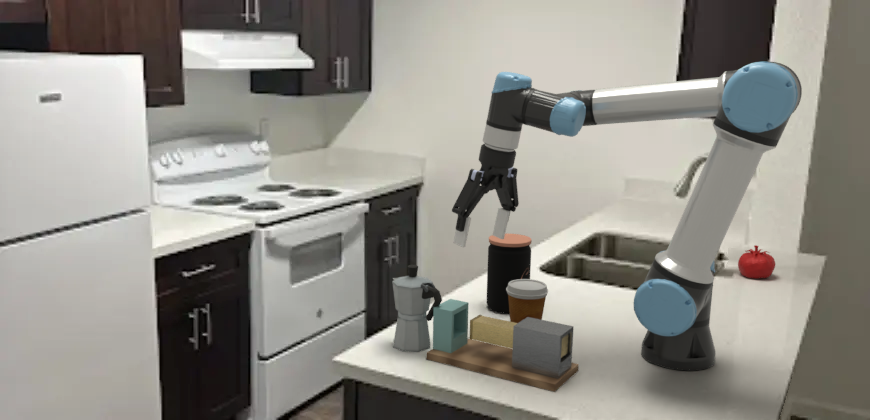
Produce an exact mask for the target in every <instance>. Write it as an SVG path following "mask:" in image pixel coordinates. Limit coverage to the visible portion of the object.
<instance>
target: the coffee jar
mask: <svg viewBox="0 0 870 420" xmlns="http://www.w3.org/2000/svg"><path fill="white" fill-rule="evenodd" d="M488 243H489V246H488V250H487V276H486V279H487V280H486V305H487V306H488V309H489V310H491V312H494V313H498V314H504V315H510V311H509V300H508V293H507V291H506V288H507V287H508V283H509V282H510V281H512V280H517V279H531V264H532V263H531V262H532V248H531V246H530V245H531V244H532V238H531V237H530V236H528V235H523V234H519V233H505V236H504V239H500V238H498V237H495V236H493V234H491V235H489V236H488Z"/></svg>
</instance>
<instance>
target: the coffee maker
mask: <svg viewBox="0 0 870 420" xmlns="http://www.w3.org/2000/svg"><path fill="white" fill-rule="evenodd" d="M406 267H407V271H408V272H407V273H408V275H405V276H399V277H392V279H393V280H392V290H393V299H394V304H395V305H394V307H395V310H396V311H397V320H396V325H395V333H394V339H393V343H392V347H393V348H394V349H397V350H399V351H400V352H405V353H406V352H407V353H408V352H409V353H415V352H416V353H419V352H423V351H425V350H428V349H429V350H430V348H431V337H430V330H429V322H430V321H432V320H433V308H434V307H437V306H439V305H440V304H441V303H442V301H443V297H442V295H441V291H440V290H439V289H438V288H436V285H435V284H434V282H433V281H432V280H431V279H429V278H428V277H424V276H418V275H417V274H418V270H419V266H418V265H416V264H409V265H407V266H406ZM432 299H434V302H433V304H432V305H431V300H432ZM430 305H431V306H430Z"/></svg>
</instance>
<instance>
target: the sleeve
mask: <svg viewBox="0 0 870 420" xmlns="http://www.w3.org/2000/svg"><path fill="white" fill-rule="evenodd" d="M566 335H568V350H567V354H566V355H564V356H563V357H562V358H561V348H562V338H564V337H565V336H566ZM573 339H574V326H573V325H570V324H569V325H568V324H564V323H559V322H555V321H554V322H553V321H550V320H546V319H545V320H544V319H542V320H540V319H535V318H531V317H527V318H525V319H524V320H522V321H521V322H519V323H517V324H516V325H514V327H513V352H512V368H515V369H519V370H523V371H527V372H531V373H535V374H539V375H544V376H548V377H552V378H556V379H559V378H560V377H561V376H562V375H564V374H565V373H566V372H567V371H568V370H569V369H571V364H572V363H573V362H572V358H573V345H574V344H573V342H574V340H573Z"/></svg>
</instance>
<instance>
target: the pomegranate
mask: <svg viewBox="0 0 870 420" xmlns="http://www.w3.org/2000/svg"><path fill="white" fill-rule="evenodd" d="M753 247H754V250H753V249H752V248H750V249H748V250H747V249H746V250H745V252H744V253H742V254H741V256H740V257H739V259H738V262H737V268H738V271H739V272H740V274H741V275H742V276H743V277H745V278H748V279H756V280H757V279H768V278H769V277H771V276H772V274H773V272H774V270H775V268H776V261H775V258H774V256H772V255H770V252H769V251H767V250H765V251H763V249H759V245H756V244H755V245H754V246H753Z"/></svg>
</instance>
